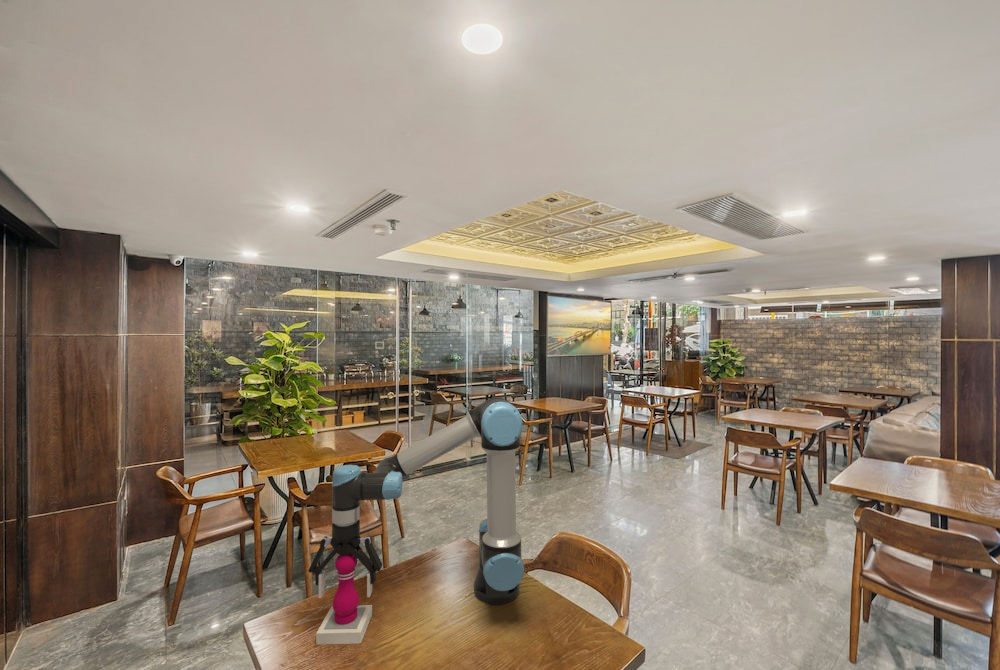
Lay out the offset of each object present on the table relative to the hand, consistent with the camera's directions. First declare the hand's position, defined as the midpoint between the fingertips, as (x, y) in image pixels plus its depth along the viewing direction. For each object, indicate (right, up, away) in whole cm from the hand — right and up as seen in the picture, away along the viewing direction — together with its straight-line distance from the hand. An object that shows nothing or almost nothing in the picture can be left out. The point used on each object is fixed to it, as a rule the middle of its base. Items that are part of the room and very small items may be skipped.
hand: (345, 595), depth 123 cm
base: (0, -10, 0) cm, 10 cm away
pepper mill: (0, -7, 0) cm, 7 cm away
